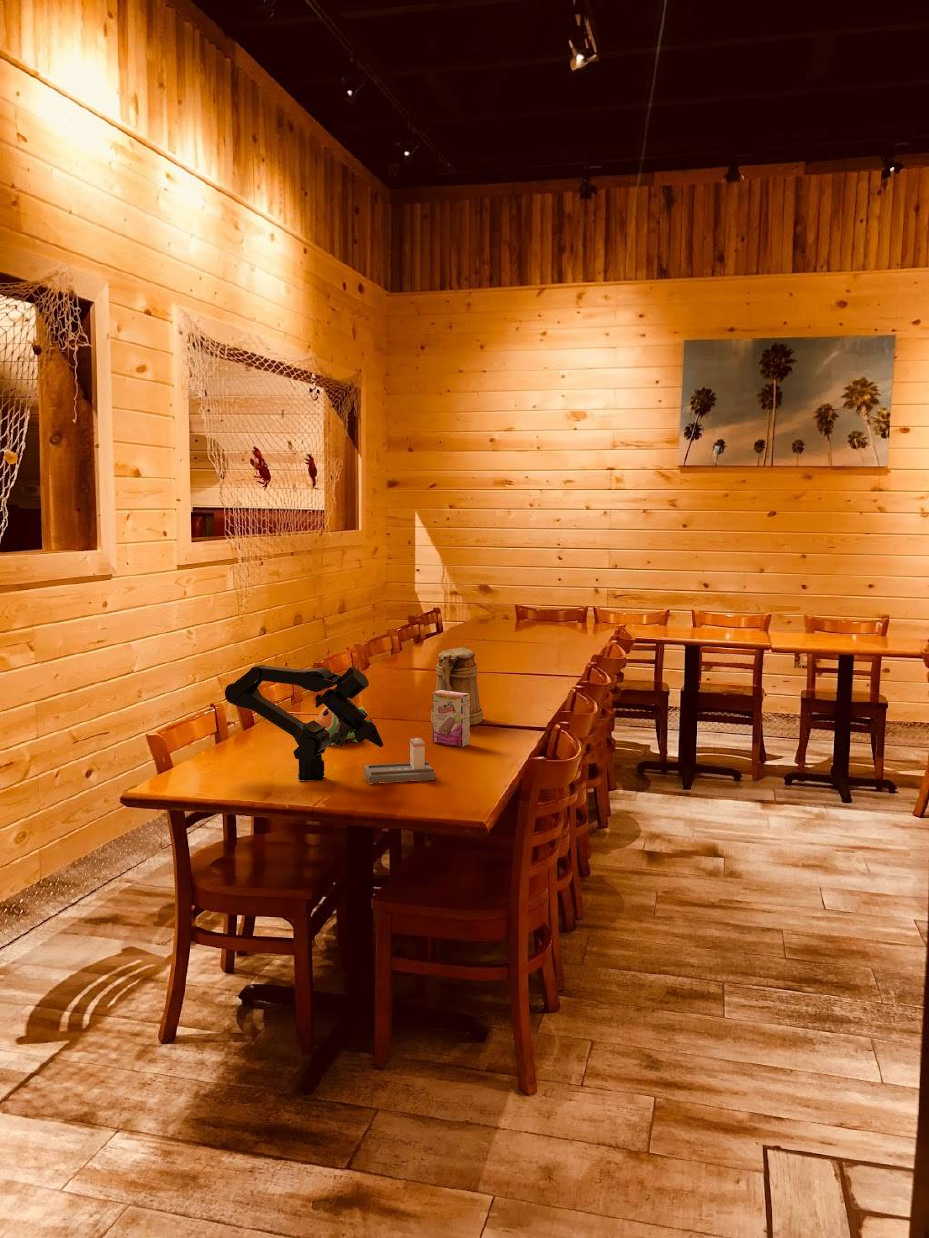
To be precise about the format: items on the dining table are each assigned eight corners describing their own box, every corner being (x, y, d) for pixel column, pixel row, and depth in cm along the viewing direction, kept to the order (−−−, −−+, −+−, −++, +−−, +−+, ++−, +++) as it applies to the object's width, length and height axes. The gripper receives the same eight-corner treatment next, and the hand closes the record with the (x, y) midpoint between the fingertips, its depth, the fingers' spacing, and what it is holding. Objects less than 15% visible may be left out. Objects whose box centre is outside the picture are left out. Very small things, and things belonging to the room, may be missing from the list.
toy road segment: (368, 784, 262) (368, 774, 261) (364, 772, 273) (364, 763, 273) (434, 780, 265) (434, 771, 265) (427, 768, 277) (427, 759, 277)
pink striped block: (413, 770, 267) (413, 743, 266) (410, 764, 273) (410, 738, 272) (424, 769, 267) (424, 743, 267) (421, 764, 273) (421, 737, 273)
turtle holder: (378, 738, 313) (378, 702, 311) (332, 748, 301) (331, 710, 299) (355, 732, 322) (355, 696, 320) (309, 741, 309) (308, 704, 308)
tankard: (488, 717, 344) (488, 647, 342) (472, 732, 322) (472, 657, 319) (438, 714, 349) (438, 645, 346) (420, 729, 326) (419, 655, 323)
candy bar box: (431, 743, 306) (431, 692, 304) (440, 740, 311) (440, 689, 309) (462, 748, 301) (462, 695, 299) (470, 744, 305) (470, 693, 303)
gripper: (317, 721, 271) (356, 758, 275) (324, 736, 253) (366, 776, 257) (346, 692, 273) (384, 730, 276) (354, 705, 254) (396, 745, 258)
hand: (382, 746), depth 267 cm, fingers closed
